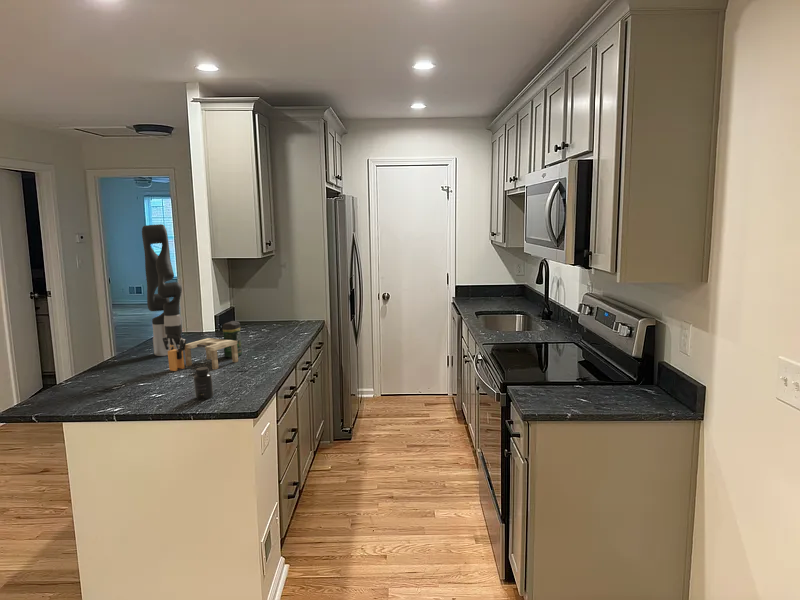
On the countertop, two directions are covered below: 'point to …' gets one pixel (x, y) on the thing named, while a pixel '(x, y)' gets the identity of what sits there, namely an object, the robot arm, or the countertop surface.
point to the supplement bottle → (203, 383)
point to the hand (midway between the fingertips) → (176, 358)
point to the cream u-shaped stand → (211, 350)
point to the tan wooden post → (175, 360)
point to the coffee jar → (232, 337)
